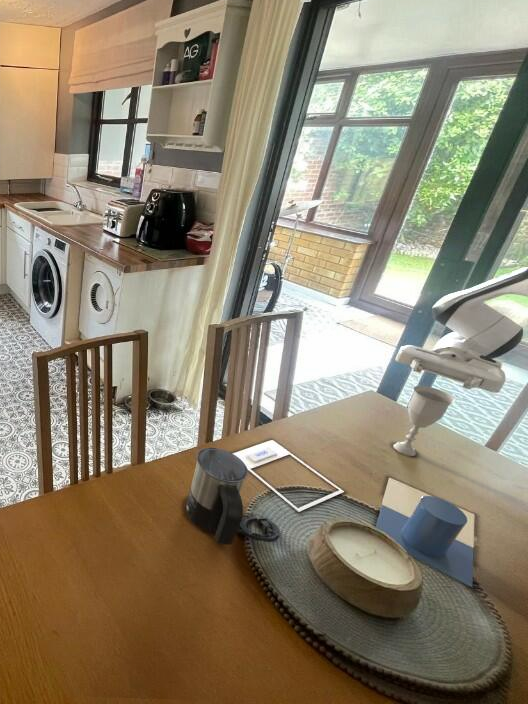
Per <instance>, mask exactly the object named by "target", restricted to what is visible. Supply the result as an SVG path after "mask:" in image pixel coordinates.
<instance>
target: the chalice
mask: <svg viewBox="0 0 528 704" xmlns="http://www.w3.org/2000/svg"><path fill="white" fill-rule="evenodd" d="M413 392H414V393H413V395H412V396H411V399H410V401H409V403H408V405H407V413H408V417H409V422H410V424H412V425H413V427H412V428H411V429H409V434H407V435H405V437H406V440H405V441H397V442H396V443H394V444H393V449H395V450H396V451H397V452H398V453H400V454H402V455H406V456H409V457H413V456H416V454H417V453H416V449H415V447H414V446H413V445H412V442H413V441H415V440H416V435H419V429H420V428H421V429H423V428H424V429H425V428H427V427H429V426H431V425H433V424H435V423H436V422H438V421H439V420H441V419H442V418H443V417H444V415H445V413H446V412H447V409H448V408H449V406H450V405H452V404H454V403H455V402H456V398H455V397H454V396H453V395H451V394H449V393H448V392H447V391H444V390H441V389H439V388H435V387H431V386H425V385H416V386H413Z"/></svg>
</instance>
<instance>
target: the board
mask: <svg viewBox="0 0 528 704" xmlns="http://www.w3.org/2000/svg"><path fill="white" fill-rule="evenodd" d="M424 496H432V495H430V494H428V493H426V492H424V491H422V490H420V489H417V488H414V487H412V486H410V485H408V484H405V483H403V482H401V481H398V480H397V479H394V478H392V477H388V481H387V484H386V487H385V490H384V495H383V499H382V502H381V507H380V510H379V515H378V518H377V522H376V526H375V529H376V528H377V529H379V530H381V531H383V532H385V533H386V534H388V535H389V536H390V537H392V538H393V539H394V540H395V541H396V542H397V543H399V544H400V545H401V546H402V547H403V549H405V550H406V551H407V553H408V554H407V553H406V554H407V555H408V556H411V557H413V558H415V559H416V560H419V561H421V562H422V563H424V564H427V565H428V566H430V567H432V568H434V569H435V570H438V571H440V572H442V573H443V574H445V575H448V576H449V577H451V578H453V579H455V580H457V581H459V582H461V583H463V584H465V585H467V586H469V587H471V588H473V580H474V579H473V578H474V548H475V516H476V515H475V514H474V513H472V512H470V511H467V510H465V509H463V508H460V507H458V506H456V507H457V508H459V509H460V510H461V511H462V512H463V513H464V514H465V515H466V517H467V523H466V524H465V526H464V527H463V529H462V530H461V532H460V533H459V535H458V536H457V537H456V539H455V540H454V542H453V543H452V545H451V546H450V548H449V549H448V551H447V552H446V554H445V555H444V556H442V557H432V556H429V555H426V554H424V553H421V552H420V551H418V550H416V549H415V548H413V547H412V546H411V545H409V544H408V543H407V542H406V541H405V539H404V538H403V536H402V529H403V528H404V526H405V524H406V523H407V521H408V519H409V518H410V516H411V514H412V512H413V511H414V509H415V507H416V506H417V504H418V502H419V501H420V499H421V498H422V497H424Z"/></svg>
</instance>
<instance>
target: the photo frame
mask: <svg viewBox="0 0 528 704" xmlns="http://www.w3.org/2000/svg"><path fill="white" fill-rule="evenodd" d="M232 454H234V455H235V456H237V457H238V458H239V459H241V460H242V461H243V462H244V464H245V465H246V467H247V469H248V472H250V473H251V474H252V475H253V476H255V477H256V478H257V479H258V480H259V481H261V482H262V483H263V484H264V485H266V486H267V487H268V489H270V490H272V491H273V492H274V493H275V494H276V495H278V496H279V497H280V498H281V499H283V501H285V502H286V503H287V504H288V505H289V506H290V507H292V508H293V509H294V510H296V512H297V513H300V512H302V511H305V510H307V509H308V508H311V507H314V506H316V505H318V504H320V503H322V502H325V501H327V500H329V499H331V498H334V497H337V496H338V495H340V494H343V493H345V490H344V489H342V488H340V487H339V486H337V485H336V484H335V483H333V482H331V481H330V479H327V477H325V476H323V475H322V474H320V473H319V472H318V471H316V470H315V469H314V468H313V467H311V466H310V465H308V464H307V463H306V462H304V461H303V460H302V459H300V458H298V456H295V455H294V454H293V453H292V452H290V451H289V450H287V449H286V448H285V447H284V446H282V445H280V444H279V443H278V442H276V441H275V440H273V439H271V440H268V441H264V442H262V443H259V444H256V445H253V446H250V447H247V448H244V449H242V450H239V451H236V452H232ZM289 455H290V457H292V458H294V459H295V460H296V461H298V462H299V463H301V464H302V465H303V466H304V467H306V468H307V469H309V470H310V471H312V472H313V473H314V474H316V475H317V476H318V477H319V478H321V479H323V480H324V481H325V482H326V483H328V484H330V485H331V486H332V487H333V488H336V489H337V491H334V492H332V493H329V494H327V495H325V496H323V497H320V498H318V499H316V500H313V501H311V502H309V503H307V504H305V505H302V506H300V507H297V506H296V505H294V504H293V503H292V502H291V501H290V500H289V499H287V498H286V497H285V496H284V495H282V494H281V493H280V492H279V491H278V490H276V488H274V486H272V485H271V484H270V483H268V482H267V481H266V480H264V479H263V478H262V477H261V476H260V475H258V473H256V472H255V471H253V470H252V469H254V468H258V467H259V466H262V465H265V464H267V463H270V462H274V461H276V460H278V459H282V458H283V457H287V456H289Z"/></svg>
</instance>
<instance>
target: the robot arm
mask: <svg viewBox="0 0 528 704" xmlns="http://www.w3.org/2000/svg"><path fill="white" fill-rule="evenodd" d="M505 295H517V296H523V297H527V298H528V266H526V267H522V268H518V269H516V270H513V271H511V272H508V273H505V274H502V275H500V276H497V277H494V278H493V279H490V280H486V281H485V282H481V283H479V284H477V285H474V286H472V287H468V288H466V289H463V290H459V291H456V292H453V293H450V294H447V295H445V296H443V297H442V298H440V299H439V300H437V301H436V303H435V304H433V305H432V307H431V312H432V318H433V320H434V321H436V322H437V323H439V324H441V325H442V326H444V327H447V328H448V329H449V330H451V331H452V332H449V333H447V334H445V335H443V336H442V337H441V338H440V339H439V340H438V341H437V342H436V343H435V345H434V347H433V348H432V350H430V349H427V348H423V347H420V346H417V345H412V344H407V345H403V346H401V347H400V348H399V350H398V352H397V354H396V356H395V359H394V360H395V361H396V362H397V363H399V364H401V365H405V366H408V367H411V368H412V369H413V370H412V371H413V372H415V373H418V374H421V373H422V371H424V372H427V373H430V374H433V375H436V376H440V377H442V378H444V379H445V378H446V379H449V380H452V381H455V382H458V383H462V384H463V385H462V388H465V389H467V390H472V389H480V390H483V391H486V392H489V393H493V394H498V393H499V392H500V391H501V390H502V388H503V386H504V385H505V383H506V372H505V371H504V370H503V369H502V367H503V363H502V362H500V361H498V360H496V358H499V357H502V356H503V355H505V354H507V353H509V352H510V351H512V350H514V349H515V348H516V347H517V346H518V345H519V344H520V343H521V341H522V339H523V336H524V328H523V326H521V325H520V324H518V323H516V322H515V321H513V320H512V319H510V318H509V317H507V316H506V315H504V314H503V313H501V312H499V311H498V310H496V309H495V308H493V307H491V306H490V305H489V304H487V303H486V302H487V301H490V300H493V299H496V298H499V297H502V296H505Z"/></svg>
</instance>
